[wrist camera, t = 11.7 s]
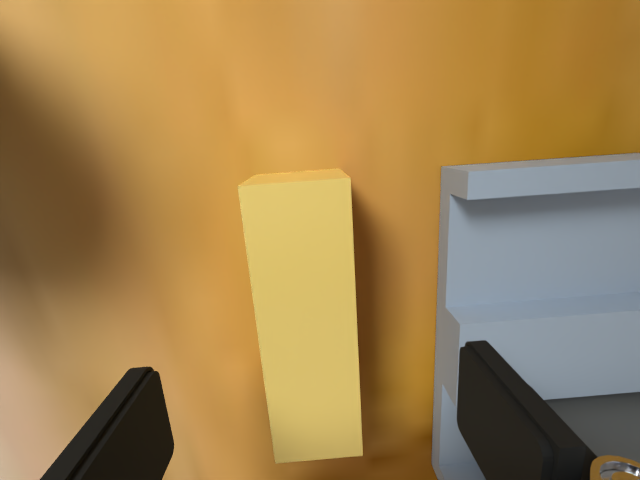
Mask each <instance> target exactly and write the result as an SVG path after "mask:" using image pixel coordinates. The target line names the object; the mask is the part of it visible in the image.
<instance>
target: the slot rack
mask: <svg viewBox="0 0 640 480" xmlns="http://www.w3.org/2000/svg"><path fill="white" fill-rule="evenodd" d="M480 340H486V341H487V342H489V344H490V345H491V346H492V347H493V348H494V349H495V350H496V351H497V352H498V353H499V354H500V355H501V356H502V357H503V358H504V359H505V361H506V362H507V363H508V364H509V365H510V366H511V367H512V368H513V369H514V370H515V371H516V372H517V373H518V374H519V375H520V376H521V378H522V379H523V380H524V381H525V382H526V383H527V384H528V385H530V386H531V387H532V388H533V389H534V390H535V391H536V392H537V393H538V394H539V396H540V397H541V398H542V399H543V400H548V399H560V398H572V397H584V396H595V395H607V394H619V393H631V392H640V153H628V154H614V155H600V156H585V157H571V158H557V159H542V160H528V161H513V162H499V163H485V164H470V165H456V166H442V167H441V195H440V226H439V256H438V286H437V316H436V346H435V376H434V406H433V436H432V466H433V468H434V471H435V474H436V476H437V479H438V480H486V479H485V477H484V475H483V473H482V472H481V470H480V468H479V466H478V464H477V462H476V460H475V459H474V457H473V455H472V453H471V451H470V449H469V448H468V446H467V444H466V442H465V440H464V438H463V437H462V435H461V433H460V431H459V428H458V424H457V398H458V375H459V352H460V348H461V347H465V343H466V342H467V341H480Z"/></svg>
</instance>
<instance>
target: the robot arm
mask: <svg viewBox="0 0 640 480" xmlns="http://www.w3.org/2000/svg"><path fill="white" fill-rule="evenodd" d="M457 424H458V428H459V431H460V433H461V435H462V437H463V438H464V440H465V442H466V444H467V446H468V448H469V449H470V451H471V453H472V455H473V457H474V459H475V460H476V462H477V464H478V466H479V468H480V470H481V472H482V473H483V475H484V477H485V479H486V480H640V463H638V462H636V461H633V460H631V459H627V458H624V457H620V456H612V455H605V456H599V457H597V456H596V455H595V454H594V453H593V452H592V450H591V449H590V448H589V447H588V446H587V445H586V444H585V443H584V442H583V441H582V440H581V439H580V438H579V437H578V436H577V435H576V434H575V433H574V431H573V430H572V429H571V428H570V427H569V426H568V425H567V424H566V423H565V422H564V421H563V420H562V419H561V418H560V417H559V416H558V415H557V414H556V412H555V411H554V410H553V409H552V408H551V407H550V406H549V405H548V404H547V403H546V402H545V401H544V400H543V399H542V398H541V397H540V396H539V394H538V393H537V392H536V391H535V390H534V389H533V388H532V387H531V386H530V385H528V384H527V383H526V382H525V381H524V380H523V379H522V378H521V376H520V375H519V374H518V373H517V372H516V371H515V370H514V369H513V368H512V367H511V366H510V365H509V364H508V363H507V362H506V361H505V359H504V358H503V357H502V356H501V355H500V354H499V353H498V352H497V351H496V350H495V349H494V348H493V347H492V346H491V345H490V344H489V342H487V341H486V340H480V341H467V342H466V343H465V347H461V348H460V352H459V375H458V398H457ZM173 450H174V441H173V436H172V431H171V427H170V422H169V417H168V413H167V408H166V403H165V399H164V394H163V389H162V384H161V380H160V375H159V373H158V372H157V371H154V370H153V368H152V367H140V368H131V369H129V370H128V371H127V372H126V374H125V375H124V376H123V377H122V379H121V380H120V381H119V382H118V384H117V385H116V386H115V387H114V389H113V390H112V391H111V392H110V394H109V395H108V396H107V397H106V398H105V400H104V401H103V402H102V403H101V405H100V406H99V407H98V408H97V410H96V411H95V412H94V413H93V415H92V416H91V417H90V418H89V419H88V421H87V422H86V423H85V424H84V426H83V427H82V428H81V429H80V431H79V432H78V433H77V434H76V436H75V437H74V438H73V439H72V441H71V442H70V443H69V444H68V445H67V447H66V448H65V449H64V450H63V452H62V453H61V454H60V455H59V457H58V458H57V459H56V460H55V462H54V463H53V464H52V465H51V466H50V468H49V469H48V470H47V471H46V473H45V474H44V475H43V476H42V478H41V479H40V480H162V478H163V475H164V473H165V471H166V469H167V466H168V464H169V462H170V460H171V457H172V455H173Z"/></svg>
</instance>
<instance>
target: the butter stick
mask: <svg viewBox="0 0 640 480" xmlns="http://www.w3.org/2000/svg"><path fill="white" fill-rule="evenodd" d="M238 193H239V200H240V207H241V215H242V222H243V229H244V237H245V244H246V252H247V259H248V266H249V274H250V281H251V288H252V296H253V303H254V311H255V318H256V325H257V333H258V340H259V347H260V355H261V362H262V369H263V377H264V384H265V392H266V399H267V406H268V414H269V421H270V428H271V436H272V443H273V450H274V458H275V463H287V462H298V461H309V460H320V459H331V458H343V457H354V456H363V446H362V424H361V401H360V379H359V356H358V334H357V311H356V289H355V266H354V244H353V221H352V199H351V178H350V177H349V176H348V175H347V174H345V173H344V172H343V171H342V170H341V169H339V168H338V169H325V170H311V171H298V172H284V173H271V174H257V175H254V176H252V177H251V178H249V179H248V180H246V181H245V182H243V183H242V184H240V185H239V186H238Z"/></svg>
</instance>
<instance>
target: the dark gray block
mask: <svg viewBox="0 0 640 480" xmlns="http://www.w3.org/2000/svg"><path fill="white" fill-rule="evenodd" d="M544 401H545V402H546V403H547V404H548V405H549V406H550V407H551V408H552V409H553V410H554V411H555V412H556V414H557V415H558V416H559V417H560V418H561V419H562V420H563V421H564V422H565V423H566V424H567V425H568V426H569V427H570V428H571V429H572V430H573V431H574V433H575V434H576V435H577V436H578V437H579V438H580V439H581V440H582V441H583V442H584V443H585V444H586V445H587V446H588V447H589V448H590V449H591V450H592V452H593V453H594V454H595V455H596V456H597V457H599V456H605V455H612V456H620V457H624V458H627V459H631V460H633V461H636V462H638V463H640V392H631V393H619V394H607V395H595V396H584V397H572V398H560V399H548V400H544Z"/></svg>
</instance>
